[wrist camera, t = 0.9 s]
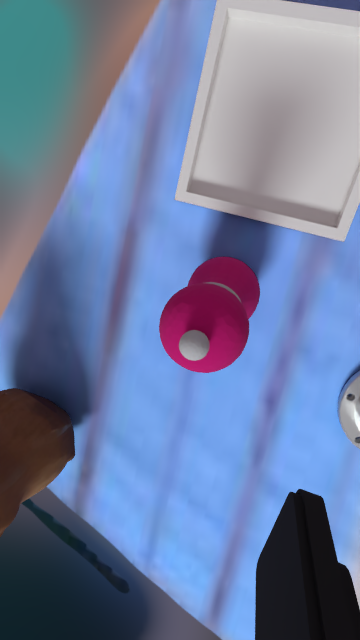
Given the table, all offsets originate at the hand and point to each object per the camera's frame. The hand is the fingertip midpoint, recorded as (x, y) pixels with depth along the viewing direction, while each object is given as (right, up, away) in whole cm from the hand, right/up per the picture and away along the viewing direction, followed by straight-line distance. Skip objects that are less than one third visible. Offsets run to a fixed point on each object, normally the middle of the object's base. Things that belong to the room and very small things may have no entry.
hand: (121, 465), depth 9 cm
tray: (+12, +23, +22) cm, 33 cm away
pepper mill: (+7, +8, +27) cm, 29 cm away
